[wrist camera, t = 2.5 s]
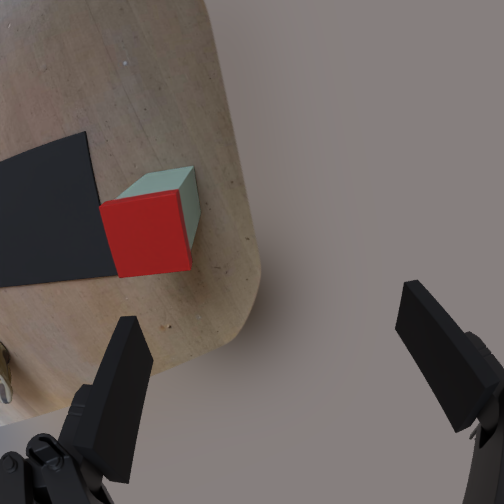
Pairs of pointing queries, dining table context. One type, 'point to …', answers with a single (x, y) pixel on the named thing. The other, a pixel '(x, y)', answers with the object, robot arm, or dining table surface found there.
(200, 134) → the dining table surface
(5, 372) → the bowl
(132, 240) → the container
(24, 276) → the mat
